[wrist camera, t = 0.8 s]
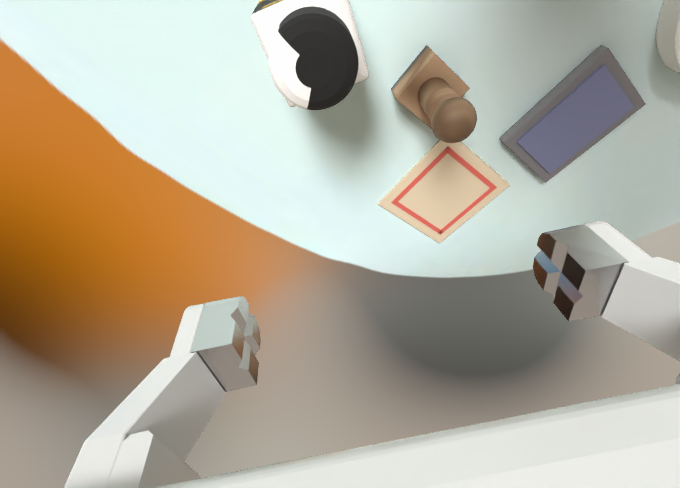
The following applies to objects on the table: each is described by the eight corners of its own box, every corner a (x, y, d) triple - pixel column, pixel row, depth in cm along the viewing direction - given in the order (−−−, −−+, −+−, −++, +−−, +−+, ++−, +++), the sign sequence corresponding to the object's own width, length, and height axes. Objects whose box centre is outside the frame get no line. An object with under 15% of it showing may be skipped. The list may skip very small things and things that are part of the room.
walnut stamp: (426, 45, 34) (465, 83, 26) (459, 77, 36) (505, 123, 28) (390, 88, 36) (415, 136, 28) (424, 116, 39) (456, 168, 30)
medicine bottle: (335, -34, 29) (348, -16, 21) (360, 54, 34) (379, 101, 25) (257, 0, 31) (238, 31, 22) (291, 82, 35) (287, 135, 26)
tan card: (448, 131, 40) (449, 132, 40) (509, 184, 45) (510, 185, 45) (377, 203, 46) (378, 204, 46) (439, 242, 51) (439, 243, 51)
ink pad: (600, 45, 35) (610, 49, 34) (638, 100, 39) (647, 105, 38) (499, 138, 41) (504, 144, 40) (540, 177, 45) (546, 183, 44)
